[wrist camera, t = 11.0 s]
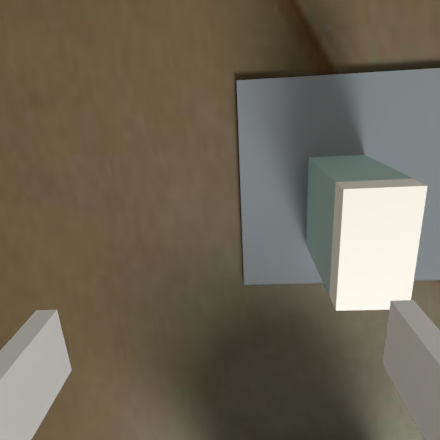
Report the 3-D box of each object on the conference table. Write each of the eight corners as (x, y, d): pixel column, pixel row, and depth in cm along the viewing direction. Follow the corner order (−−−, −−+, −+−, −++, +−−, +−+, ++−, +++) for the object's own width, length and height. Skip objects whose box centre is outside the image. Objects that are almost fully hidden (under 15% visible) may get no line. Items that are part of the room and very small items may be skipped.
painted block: (305, 245, 28) (335, 310, 20) (308, 157, 26) (343, 189, 17) (357, 243, 28) (409, 309, 20) (364, 154, 26) (427, 185, 17)
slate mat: (244, 282, 30) (244, 284, 30) (236, 80, 25) (236, 80, 24) (489, 275, 29) (492, 278, 28) (538, 62, 23) (543, 61, 23)
